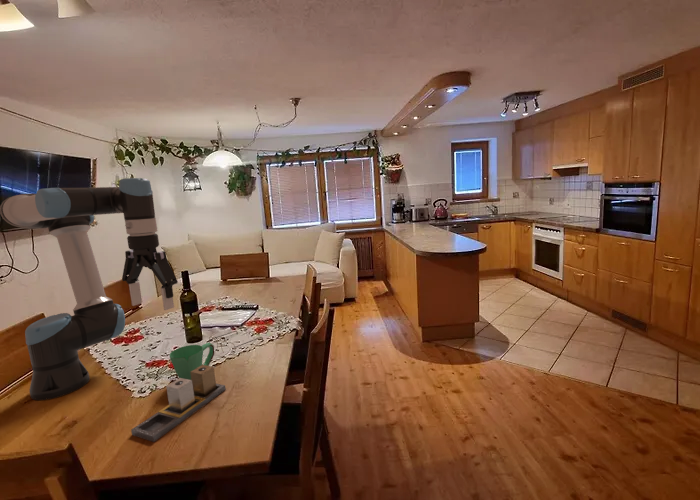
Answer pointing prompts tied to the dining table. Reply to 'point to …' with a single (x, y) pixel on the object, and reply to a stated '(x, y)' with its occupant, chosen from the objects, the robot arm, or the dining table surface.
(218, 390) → the grey slotted tray
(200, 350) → the mug
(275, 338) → the dining table surface
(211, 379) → the brown rectangular block
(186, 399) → the white rectangular block
